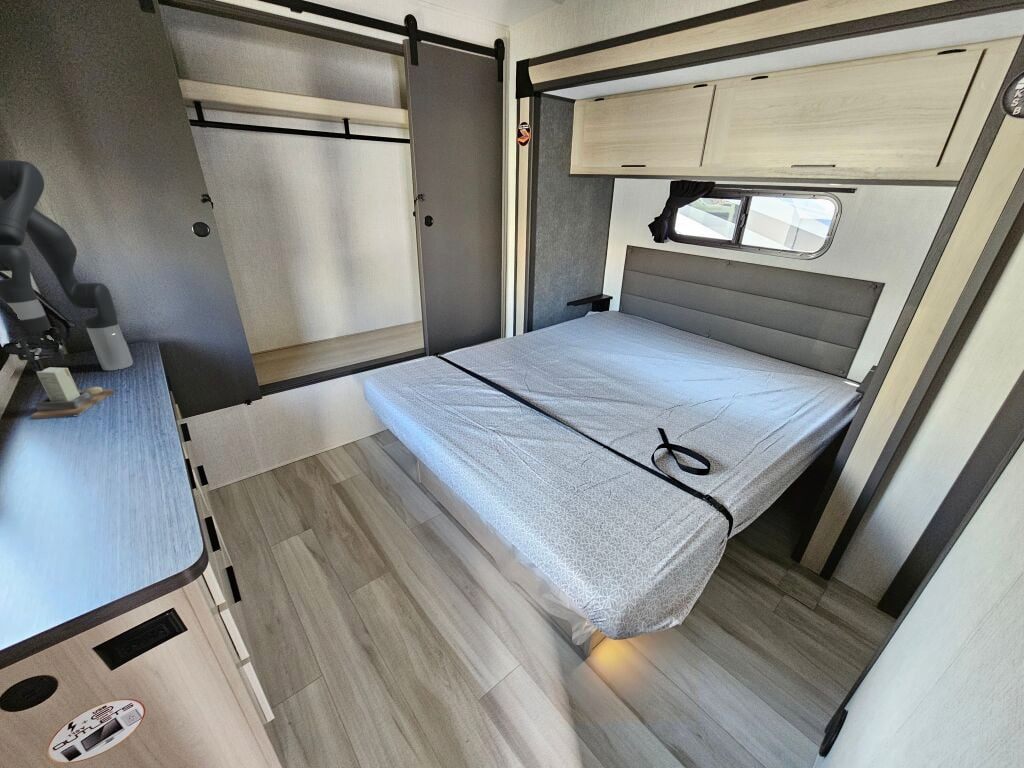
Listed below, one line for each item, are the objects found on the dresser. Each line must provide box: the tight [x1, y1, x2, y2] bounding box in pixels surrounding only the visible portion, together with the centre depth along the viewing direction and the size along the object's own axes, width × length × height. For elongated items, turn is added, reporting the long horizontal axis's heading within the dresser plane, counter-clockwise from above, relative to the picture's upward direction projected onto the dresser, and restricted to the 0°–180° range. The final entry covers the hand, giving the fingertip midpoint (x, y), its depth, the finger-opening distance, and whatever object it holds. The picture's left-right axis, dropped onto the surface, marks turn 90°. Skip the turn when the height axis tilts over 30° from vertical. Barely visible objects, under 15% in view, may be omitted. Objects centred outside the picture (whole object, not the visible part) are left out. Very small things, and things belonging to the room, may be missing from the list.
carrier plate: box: [30, 386, 115, 420], centre depth 137 cm, size 18×12×4 cm, turn 12°
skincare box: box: [35, 366, 80, 402], centre depth 133 cm, size 6×4×12 cm
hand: (50, 365), depth 130 cm, fingers open, 8 cm apart
